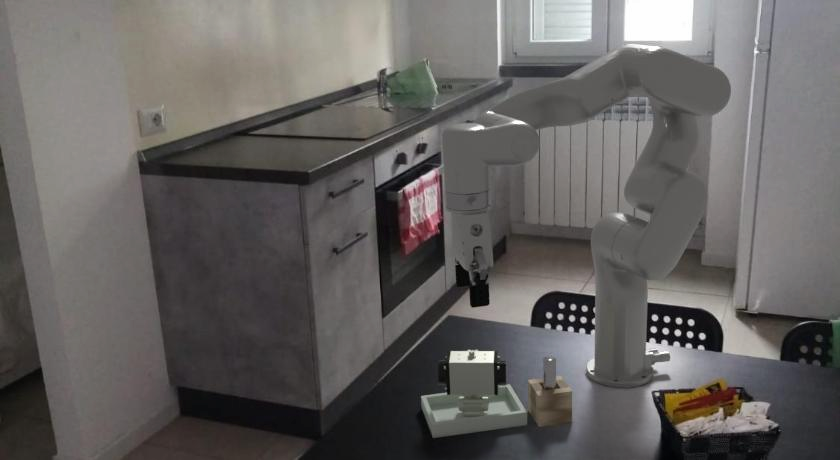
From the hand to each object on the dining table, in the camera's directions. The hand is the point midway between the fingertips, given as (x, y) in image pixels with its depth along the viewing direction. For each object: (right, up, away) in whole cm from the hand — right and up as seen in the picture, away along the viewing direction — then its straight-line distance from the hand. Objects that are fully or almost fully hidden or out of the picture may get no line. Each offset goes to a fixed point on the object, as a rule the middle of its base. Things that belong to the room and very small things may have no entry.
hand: (472, 295), depth 148 cm
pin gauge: (+14, -21, +4) cm, 26 cm away
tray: (0, -22, +5) cm, 22 cm away
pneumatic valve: (+1, -21, +6) cm, 22 cm away
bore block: (+14, -21, +4) cm, 26 cm away
